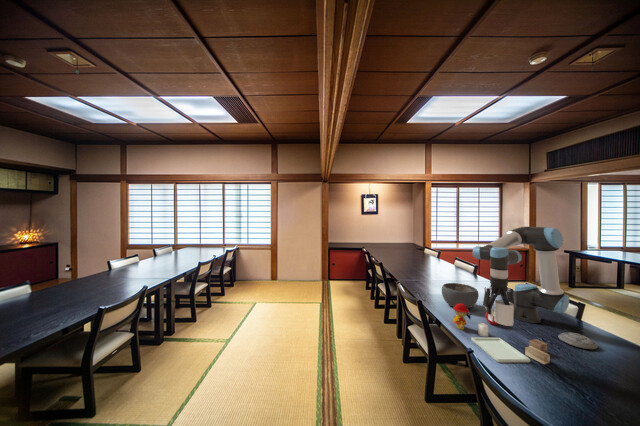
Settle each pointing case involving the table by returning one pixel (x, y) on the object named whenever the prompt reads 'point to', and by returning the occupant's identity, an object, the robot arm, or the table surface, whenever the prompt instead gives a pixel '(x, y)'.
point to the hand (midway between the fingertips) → (498, 320)
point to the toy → (461, 315)
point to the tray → (500, 350)
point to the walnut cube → (538, 345)
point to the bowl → (459, 294)
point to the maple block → (537, 355)
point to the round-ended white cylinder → (483, 329)
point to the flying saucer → (577, 340)
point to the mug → (503, 313)
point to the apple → (491, 321)
